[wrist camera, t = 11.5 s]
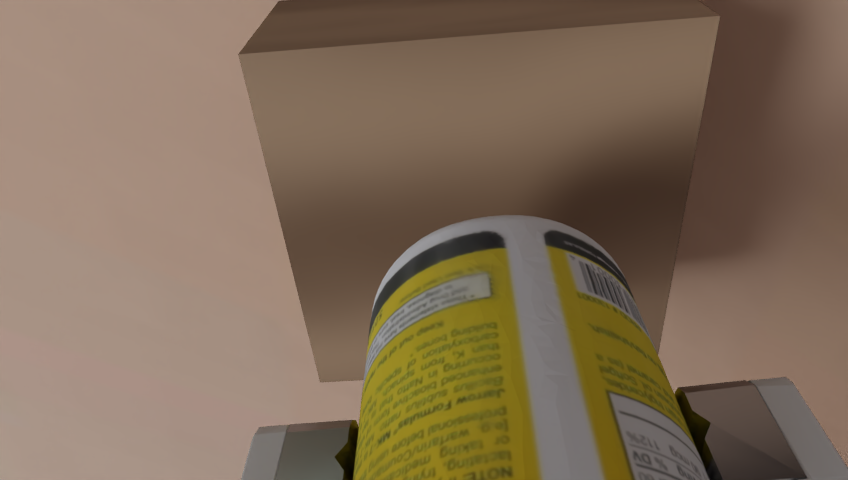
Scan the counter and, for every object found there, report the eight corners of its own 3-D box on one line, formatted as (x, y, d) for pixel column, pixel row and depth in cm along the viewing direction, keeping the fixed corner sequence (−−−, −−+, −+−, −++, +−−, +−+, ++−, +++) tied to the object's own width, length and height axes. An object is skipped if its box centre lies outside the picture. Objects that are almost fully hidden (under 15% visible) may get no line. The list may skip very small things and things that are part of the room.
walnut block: (617, 271, 20) (656, 363, 17) (337, 289, 20) (320, 382, 17) (654, -30, 15) (719, 15, 12) (278, 1, 15) (238, 54, 12)
